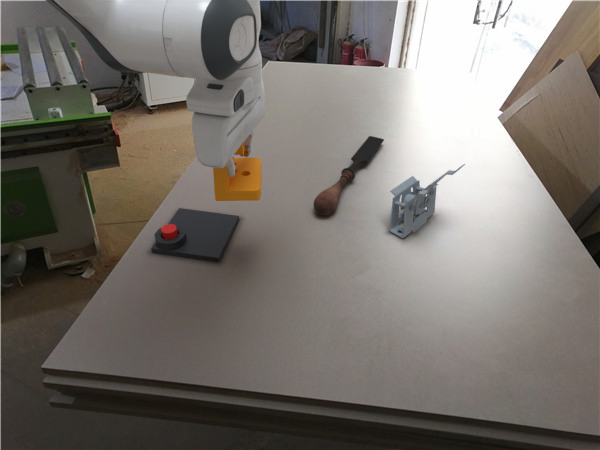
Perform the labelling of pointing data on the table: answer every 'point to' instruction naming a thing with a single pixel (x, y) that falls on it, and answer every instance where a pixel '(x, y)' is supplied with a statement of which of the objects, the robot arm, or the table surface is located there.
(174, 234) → the button
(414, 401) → the table surface
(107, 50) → the robot arm
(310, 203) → the table surface
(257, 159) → the bracket
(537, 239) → the table surface
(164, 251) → the scale
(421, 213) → the bracket
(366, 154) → the chisel
